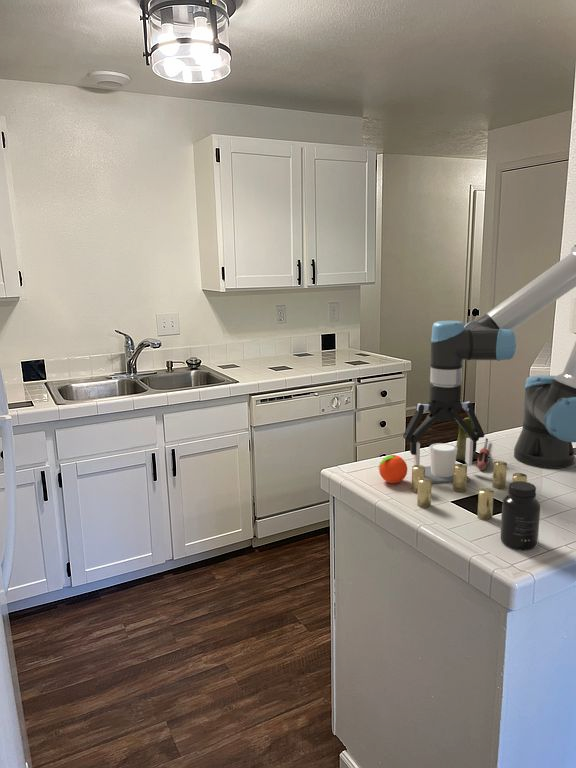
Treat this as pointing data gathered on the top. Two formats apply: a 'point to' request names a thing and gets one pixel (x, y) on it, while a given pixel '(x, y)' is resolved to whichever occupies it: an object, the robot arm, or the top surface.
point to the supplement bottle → (520, 516)
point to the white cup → (442, 459)
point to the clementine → (393, 469)
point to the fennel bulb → (463, 441)
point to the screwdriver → (483, 457)
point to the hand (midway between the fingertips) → (442, 465)
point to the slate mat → (439, 479)
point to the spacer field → (463, 486)
